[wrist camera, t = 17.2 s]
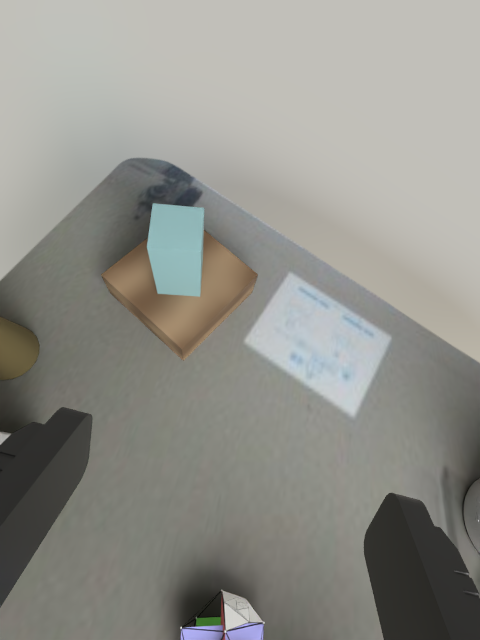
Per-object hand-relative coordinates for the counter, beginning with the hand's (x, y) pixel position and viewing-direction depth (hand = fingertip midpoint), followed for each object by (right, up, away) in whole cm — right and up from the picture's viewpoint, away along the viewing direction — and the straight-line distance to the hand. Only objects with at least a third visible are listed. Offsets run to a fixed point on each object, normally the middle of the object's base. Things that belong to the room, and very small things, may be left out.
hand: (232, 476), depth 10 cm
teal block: (-6, +9, +30) cm, 32 cm away
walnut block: (-7, +7, +34) cm, 36 cm away
